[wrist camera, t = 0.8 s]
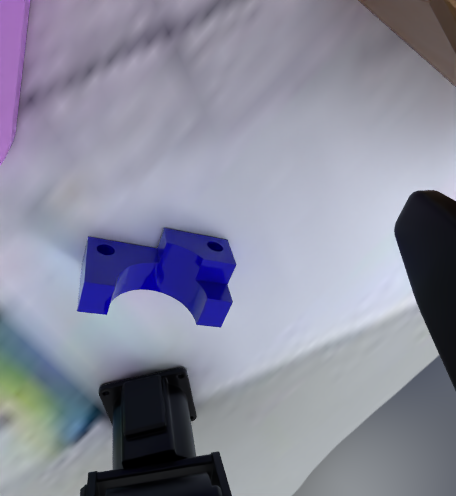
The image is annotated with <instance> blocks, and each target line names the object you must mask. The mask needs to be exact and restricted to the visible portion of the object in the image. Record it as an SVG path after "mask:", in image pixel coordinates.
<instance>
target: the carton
mask: <svg viewBox="0 0 456 496" xmlns="http://www.w3.org/2000/svg"><path fill="white" fill-rule="evenodd" d="M358 1H359V2H361V3H362V4H363V5H364V6H365V7H366V8H367V9H368V10H370V11H371V12H372V13H373V14H374V15H375V16H376V17H377V18H379V19H380V20H381V21H382V22H383V23H384V24H385V25H387V26H388V27H389V28H390V29H391V30H392V31H393V32H394V33H396V34H397V35H398V36H399V37H400V38H401V39H402V40H403V41H405V42H406V43H407V44H408V45H409V46H410V47H411V48H412V49H414V50H415V51H416V52H417V53H418V54H419V55H420V56H421V57H423V58H424V59H425V60H426V61H427V62H428V63H429V64H431V65H432V66H433V67H434V68H435V69H436V70H437V71H438V72H440V73H441V74H442V75H443V76H444V77H445V78H446V79H447V80H449V81H450V82H451V83H452V84H453V85H454V86H455V87H456V55H455V53H454V51H453V49H452V47H451V45H450V43H449V41H448V39H447V38H446V36H445V34H444V32H443V30H442V28H441V26H440V24H439V22H438V20H437V19H436V17H435V15H434V13H433V11H432V9H431V7H430V5H429V3H430V2H431V1H432V0H358ZM448 1H449V2H450V3H451V4H452V5H453V6H454V7H455V8H456V0H448Z"/></svg>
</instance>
